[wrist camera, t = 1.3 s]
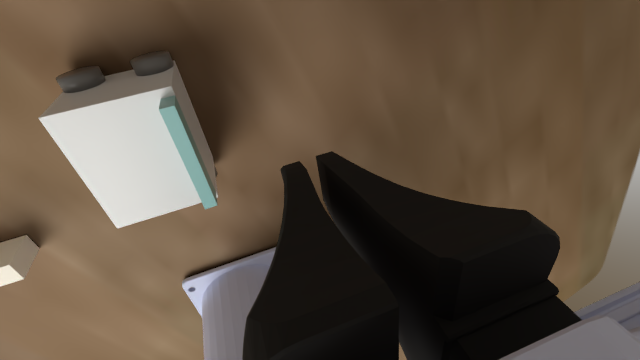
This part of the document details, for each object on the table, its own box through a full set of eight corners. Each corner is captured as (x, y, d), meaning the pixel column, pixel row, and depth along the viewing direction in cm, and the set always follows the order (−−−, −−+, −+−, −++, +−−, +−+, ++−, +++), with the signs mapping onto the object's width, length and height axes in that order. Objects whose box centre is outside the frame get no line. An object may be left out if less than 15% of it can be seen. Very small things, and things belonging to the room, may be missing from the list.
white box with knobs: (216, 164, 21) (223, 220, 16) (134, 188, 20) (119, 253, 16) (169, 48, 17) (163, 80, 12) (62, 71, 16) (15, 115, 11)
